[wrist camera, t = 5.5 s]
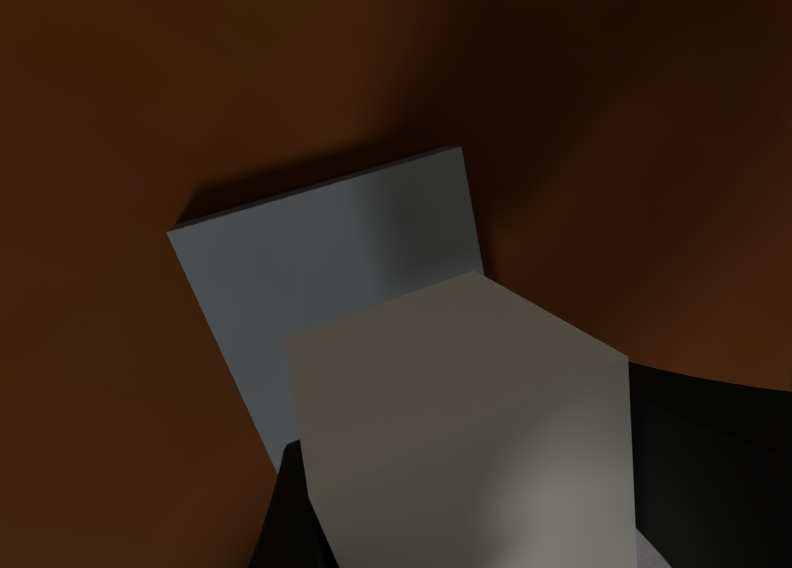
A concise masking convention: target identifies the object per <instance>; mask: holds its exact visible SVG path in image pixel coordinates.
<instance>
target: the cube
mask: <svg viewBox="0 0 792 568" xmlns="http://www.w3.org/2000/svg"><path fill="white" fill-rule="evenodd" d="M285 344H286V351H287V358H288V364H289V371H290V377H291V384H292V390H293V397H294V404H295V410H296V417H297V423H298V430H299V437H300V443H301V450H302V456H303V463H304V469H305V476H306V483H307V489H308V496H309V499H310V502H311V504H312V506H313V509H314V511H315V513H316V515H317V518H318V520H319V522H320V525H321V527H322V529H323V531H324V534H325V536H326V538H327V541H328V543H329V545H330V548H331V550H332V552H333V554H334V557H335V559H336V561H337V564H338V566H339V568H637V549H636V526H635V504H634V481H633V459H632V436H631V414H630V391H629V369H628V356H626V355H624V354H622V353H620V352H619V351H617V350H615V349H613V348H611V347H610V346H608V345H606V344H604V343H603V342H601V341H599V340H597V339H595V338H594V337H592V336H590V335H588V334H586V333H585V332H583V331H581V330H579V329H578V328H576V327H574V326H572V325H570V324H569V323H567V322H565V321H563V320H562V319H560V318H558V317H556V316H554V315H553V314H551V313H549V312H547V311H545V310H544V309H542V308H540V307H538V306H537V305H535V304H533V303H531V302H529V301H528V300H526V299H524V298H522V297H520V296H519V295H517V294H515V293H513V292H512V291H510V290H508V289H506V288H504V287H503V286H501V285H499V284H497V283H495V282H494V281H492V280H490V279H488V278H487V277H485V276H483V275H481V274H479V273H478V272H476V271H474V270H473V271H470V272H468V273H465V274H462V275H459V276H457V277H454V278H451V279H448V280H445V281H443V282H440V283H437V284H434V285H432V286H429V287H426V288H423V289H420V290H418V291H415V292H412V293H409V294H406V295H404V296H401V297H398V298H395V299H393V300H390V301H387V302H384V303H381V304H379V305H376V306H373V307H370V308H368V309H365V310H362V311H359V312H356V313H354V314H351V315H348V316H345V317H342V318H340V319H337V320H334V321H331V322H329V323H326V324H323V325H320V326H317V327H315V328H312V329H309V330H306V331H304V332H301V333H298V334H295V335H292V336H290V337H287V338H285Z"/></svg>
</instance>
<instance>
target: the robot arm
mask: <svg viewBox="0 0 792 568" xmlns="http://www.w3.org/2000/svg"><path fill="white" fill-rule="evenodd" d="M628 369H629V391H630V414H631V436H632V459H633V481H634V504H635V526H636V529H637V530H638V531H639V532H640V533H641V534H642V535H643V536H644V537H645V538H646V539H647V540H648V542H649V543H650V544H651V545H652V546H653V547H654V548H655V549H656V550H657V551H658V553H659V554H660V555H661V556H662V557H663V558H664V559H665V561H666V562H667V563H668V564H669V565H670V566H671V568H792V392H788V391H780V390H772V389H764V388H757V387H751V386H745V385H738V384H732V383H725V382H719V381H713V380H708V379H703V378H697V377H692V376H688V375H683V374H678V373H674V372H669V371H664V370H660V369H656V368H652V367H647V366H643V365H639V364H635V363H631V362H628ZM248 568H339V566H338V564H337V561H336V559H335V557H334V554H333V552H332V550H331V548H330V545H329V543H328V541H327V538H326V536H325V534H324V531H323V529H322V527H321V525H320V522H319V520H318V518H317V515H316V513H315V511H314V509H313V506H312V504H311V502H310V499H309V496H308V489H307V483H306V476H305V469H304V463H303V456H302V450H301V443H300V439H299V440H296V441H294V442H291V443H289V444H287V445H286V447H285V449H284V451H283V455H282V460H281V465H280V469H279V473H278V477H277V481H276V484H275V488H274V492H273V495H272V499H271V502H270V505H269V508H268V511H267V515H266V518H265V521H264V524H263V527H262V530H261V534H260V536H259V539H258V542H257V545H256V548H255V550H254V553H253V556H252V558H251V561H250V564H249V566H248Z"/></svg>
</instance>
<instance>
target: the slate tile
mask: <svg viewBox="0 0 792 568" xmlns="http://www.w3.org/2000/svg"><path fill="white" fill-rule="evenodd" d="M166 233H167V235H168V237H169V239H170V241H171V243H172V246H173V248H174V250H175V252H176V254H177V256H178V259H179V261H180V263H181V265H182V267H183V269H184V272H185V274H186V276H187V278H188V280H189V282H190V285H191V287H192V289H193V291H194V293H195V295H196V298H197V300H198V302H199V304H200V306H201V309H202V311H203V313H204V315H205V317H206V319H207V322H208V324H209V326H210V328H211V330H212V332H213V335H214V337H215V339H216V341H217V343H218V345H219V348H220V350H221V352H222V354H223V356H224V358H225V361H226V363H227V365H228V367H229V369H230V371H231V374H232V376H233V378H234V380H235V382H236V385H237V387H238V389H239V391H240V393H241V395H242V398H243V400H244V402H245V404H246V406H247V408H248V411H249V413H250V415H251V417H252V419H253V421H254V424H255V426H256V428H257V430H258V432H259V434H260V437H261V439H262V441H263V443H264V445H265V447H266V450H267V452H268V454H269V456H270V458H271V461H272V463H273V465H274V467H275V469H276V471H277V474H278V473H279V469H280V465H281V460H282V455H283V451H284V449H285V447H286V445H287V444H289V443H291V442H294V441H296V440H299V439H300V437H299V430H298V423H297V417H296V410H295V404H294V397H293V390H292V384H291V377H290V371H289V364H288V358H287V351H286V344H285V338H287V337H290V336H292V335H295V334H298V333H301V332H304V331H306V330H309V329H312V328H315V327H317V326H320V325H323V324H326V323H329V322H331V321H334V320H337V319H340V318H342V317H345V316H348V315H351V314H354V313H356V312H359V311H362V310H365V309H368V308H370V307H373V306H376V305H379V304H381V303H384V302H387V301H390V300H393V299H395V298H398V297H401V296H404V295H406V294H409V293H412V292H415V291H418V290H420V289H423V288H426V287H429V286H432V285H434V284H437V283H440V282H443V281H445V280H448V279H451V278H454V277H457V276H459V275H462V274H465V273H468V272H470V271H473V270H474V271H476V272H478V273H479V274H481V275H483V276H484V271H483V265H482V260H481V254H480V248H479V243H478V237H477V231H476V226H475V220H474V215H473V209H472V203H471V198H470V192H469V187H468V181H467V175H466V170H465V164H464V159H463V153H462V147H441V148H438V149H434V150H431V151H427V152H424V153H420V154H417V155H414V156H410V157H407V158H403V159H400V160H396V161H393V162H389V163H386V164H382V165H379V166H376V167H372V168H369V169H365V170H362V171H358V172H355V173H351V174H348V175H344V176H341V177H337V178H334V179H331V180H327V181H324V182H320V183H317V184H313V185H310V186H306V187H303V188H299V189H296V190H292V191H289V192H286V193H282V194H279V195H275V196H272V197H268V198H265V199H261V200H258V201H254V202H251V203H248V204H244V205H241V206H237V207H234V208H230V209H227V210H223V211H220V212H216V213H213V214H209V215H206V216H203V217H199V218H196V219H192V220H189V221H185V222H182V223H178V224H175V225H174V226H173V227H172V228H171V229H170V230H169V231H168V232H166Z"/></svg>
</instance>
